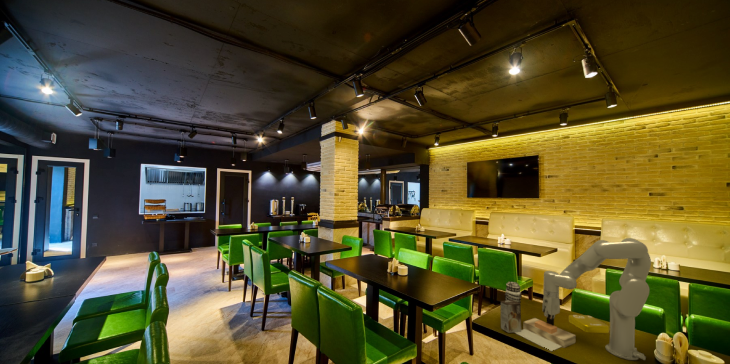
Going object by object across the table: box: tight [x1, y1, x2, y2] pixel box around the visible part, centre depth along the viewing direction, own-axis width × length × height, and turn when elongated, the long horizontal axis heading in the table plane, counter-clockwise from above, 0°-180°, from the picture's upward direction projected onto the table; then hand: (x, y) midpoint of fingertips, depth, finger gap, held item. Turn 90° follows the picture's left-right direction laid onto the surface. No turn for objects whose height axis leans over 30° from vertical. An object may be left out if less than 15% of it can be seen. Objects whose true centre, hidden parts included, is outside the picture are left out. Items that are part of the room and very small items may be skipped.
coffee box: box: [499, 300, 522, 334], centre depth 164 cm, size 9×6×16 cm
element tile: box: [568, 314, 610, 334], centre depth 172 cm, size 15×15×5 cm
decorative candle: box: [504, 281, 522, 304], centre depth 173 cm, size 9×9×25 cm
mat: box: [514, 329, 563, 352], centre depth 154 cm, size 20×10×1 cm, turn 29°
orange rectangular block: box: [535, 319, 558, 334], centre depth 158 cm, size 9×6×2 cm, turn 28°
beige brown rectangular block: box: [522, 317, 577, 349], centre depth 159 cm, size 22×12×4 cm, turn 29°
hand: (550, 324), depth 161 cm, fingers closed
